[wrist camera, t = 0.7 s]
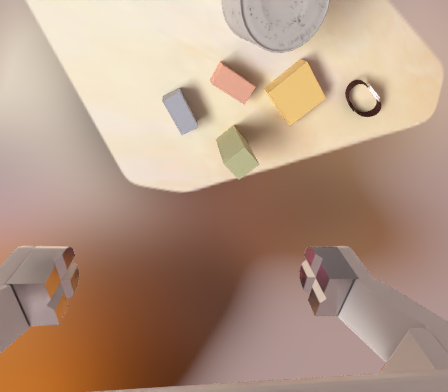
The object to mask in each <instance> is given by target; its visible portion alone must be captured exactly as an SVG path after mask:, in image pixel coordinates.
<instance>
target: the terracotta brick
mask: <svg viewBox="0 0 448 392" xmlns="http://www.w3.org/2000/svg"><path fill="white" fill-rule="evenodd" d="M210 81H211V83H212V84H213V85H214V86H216V87H217V88H219V89H221V90H222V91H224V92H225V93H227V94H229V95H230V96H232V97H233V98H235V99H237V100H238V101H240V102H241V103H243V104H244V105H245V103H246V101H247V100H248V98H249V97H250V95H251V94H252V92H253V90H254V89H255V86H254V85H253V84H252V83H251V82H249V81H248V80H246V79H245V78H243V77H242V76H240V75H239V74H237V73H236V72H234V71H233V70H231V69H230V68H229V67H227V66H226V65H224V64H223V63H221V62H220V63H219V64H218V66H217V68H216V70H215V72H214V74H213V75H212V77H211V79H210Z"/></svg>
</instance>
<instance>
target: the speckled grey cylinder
mask: <svg viewBox="0 0 448 392" xmlns="http://www.w3.org/2000/svg"><path fill="white" fill-rule="evenodd" d="M329 2H330V0H222V9H223V14H224V17H225V20H226V22H227V24H228V26H229V28H230V29H231V30H232V31H233V32H234V33H235V34H236V35H237V36H239V37H240V38H242V39H245V40H247V41H250V42H252V43H254V44H256V45H258V46H260V47H261V48H262V49H264V50H267V51H270V52H276V53H283V52H288V51H292V50H294V49H296V48H298V47H300V46H302V45H303V44H304V43H306V42H307V41H308V40H309V39H310V38H311V37H312V36H313V35H314V34H315V33H316V31H317V30H318V28H319V27H320V25H321V23H322V22H323V20H324V17H325V15H326V12H327V10H328V6H329Z"/></svg>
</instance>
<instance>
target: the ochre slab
mask: <svg viewBox="0 0 448 392" xmlns="http://www.w3.org/2000/svg"><path fill="white" fill-rule="evenodd" d="M264 89H265V91H266V92H267V94H268V96H269V97H270V99H271V100H272V102H273V103H274V105H275V106H276V108H277V109H278V111H279V112H280V114H281V115H282V117H283V118H284V120H285V121H286V122H287V123H288V124H289V125H292V124H293V123H294V122H296V121H297V120H298V119H300V118H301V117H302V116H303V115H305V114H306V113H307V112H309V111H310V110H311V109H313V108H314V107H315V106H317V105H318V104H319V103H321V102H322V101H323V100H325V99H326V97H325V95H324V93H323V91H322V89H321V87H320V86H319V84H318V82H317V80H316V78H315V76H314V74H313V72H312V70H311V68H310V66H309V64H308V62H307V61H304V60H302V59H300V60H299V61H297V62H296V63H295V64H294V65H292V66H291V67H290V68H289V69H288V70H286V71H285V72H284V73H283V74H281V75H280V76H279V77H278V78H277V79H275V80H274V81H273V82H272V83H270V84H269V85H268V86H267V87H266V88H264Z"/></svg>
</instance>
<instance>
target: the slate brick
mask: <svg viewBox="0 0 448 392" xmlns="http://www.w3.org/2000/svg"><path fill="white" fill-rule="evenodd" d="M163 103H164V105H165V107H166V108H167V110H168V112H169V114H170V115H171V117H172V119H173V121H174V122H175V124H176V126H177V128H178V129H179V131H180V133H181V135H183V134H185V133H188V132H190V131H192V130H194V129H196V128H198V123H197V120H196V118H195V116H194V114H193V112H192V110H191V108H190V106H189V104H188V103H187V101H186V99H185V97H184V95H183V93H182V91H181V89H180V88H178V89H176V90H174V91H172V92H170V93H168V94H166V95H164V96H163Z"/></svg>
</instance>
